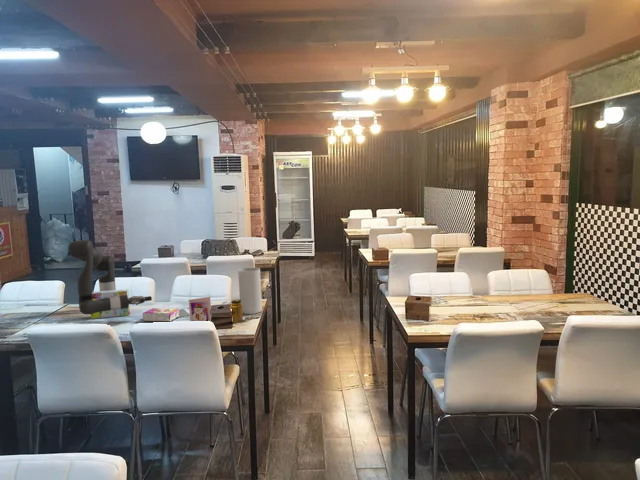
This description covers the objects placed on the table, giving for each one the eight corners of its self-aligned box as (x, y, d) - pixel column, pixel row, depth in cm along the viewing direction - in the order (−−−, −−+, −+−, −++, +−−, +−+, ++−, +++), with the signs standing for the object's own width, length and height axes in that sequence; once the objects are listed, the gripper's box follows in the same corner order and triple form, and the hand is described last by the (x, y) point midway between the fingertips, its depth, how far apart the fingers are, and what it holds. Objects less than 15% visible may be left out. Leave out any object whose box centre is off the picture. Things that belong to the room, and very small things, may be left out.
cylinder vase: (240, 315, 287) (238, 272, 284) (240, 309, 299) (238, 268, 296) (262, 313, 289) (260, 270, 286) (261, 308, 301) (259, 267, 298)
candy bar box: (152, 307, 290) (179, 308, 287) (153, 316, 291) (179, 316, 287) (142, 312, 279) (169, 313, 276) (142, 321, 280) (170, 322, 277)
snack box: (130, 313, 300) (128, 288, 298) (128, 316, 294) (126, 290, 293) (93, 316, 296) (90, 291, 295) (90, 319, 291) (88, 293, 289)
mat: (154, 321, 280) (154, 320, 280) (149, 314, 295) (149, 314, 295) (190, 315, 289) (190, 315, 289) (183, 309, 304) (183, 308, 304)
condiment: (228, 322, 273) (227, 300, 272) (240, 318, 280) (239, 297, 278) (237, 324, 269) (236, 302, 267) (249, 320, 275) (248, 299, 274)
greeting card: (189, 327, 265) (188, 300, 264) (195, 323, 273) (193, 296, 271) (210, 328, 264) (208, 300, 262) (215, 323, 271) (213, 296, 269)
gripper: (119, 298, 273) (152, 293, 280) (117, 293, 284) (149, 289, 292) (120, 311, 273) (153, 307, 281) (118, 306, 285) (150, 302, 293)
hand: (151, 298), depth 287 cm, fingers closed
